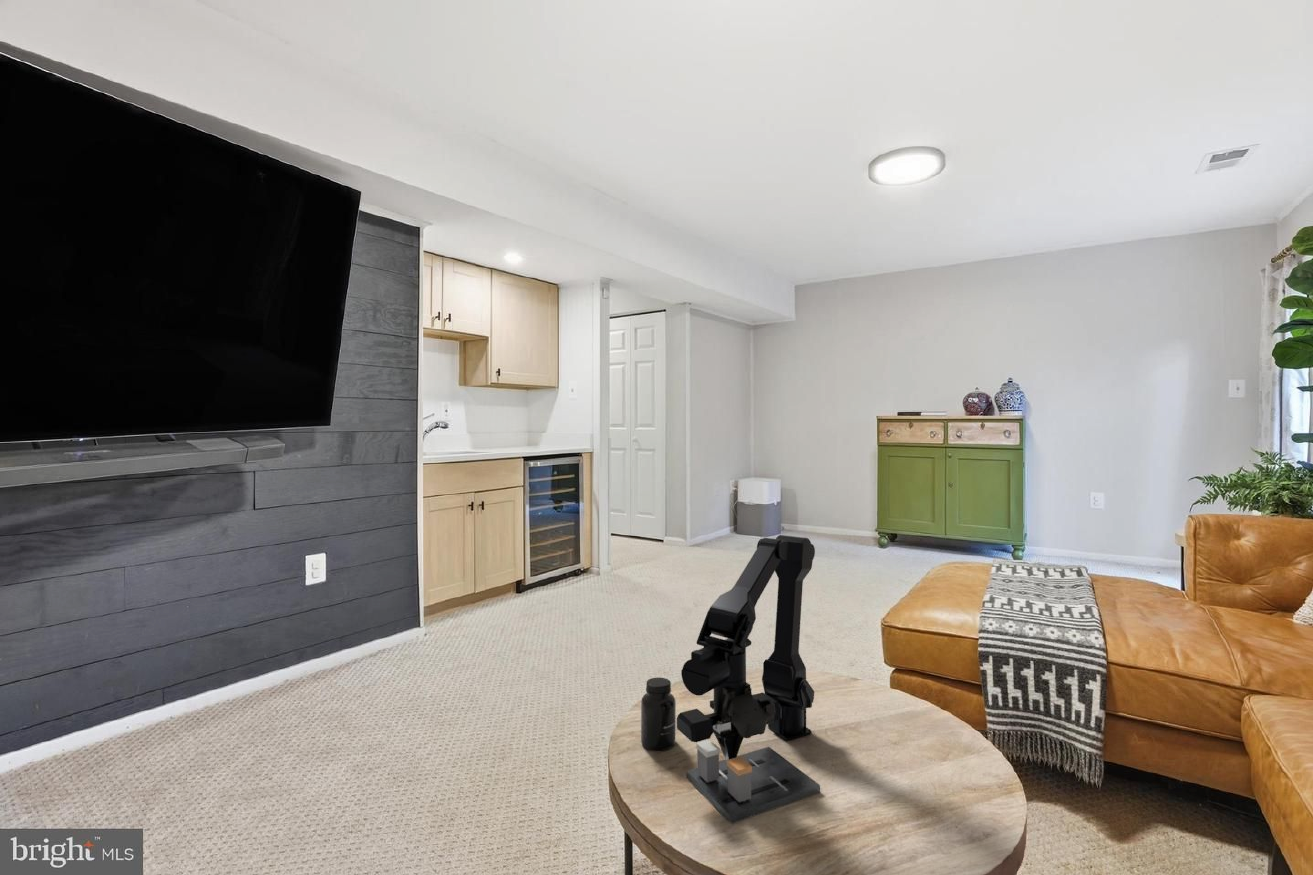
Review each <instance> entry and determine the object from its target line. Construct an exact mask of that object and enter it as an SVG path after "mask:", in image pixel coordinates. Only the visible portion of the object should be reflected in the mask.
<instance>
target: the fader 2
mask: <svg viewBox="0 0 1313 875" xmlns="http://www.w3.org/2000/svg"><path fill="white" fill-rule="evenodd" d="M738 756H739V755H738ZM727 766H728V792H729V793H730V794H731V795H732V796H733V797H734V798H735V799H736V800H737V801H738V802H742V801H745V800H747V799H750V798H751V772H752V766H751V765H750V764H749V763H747V762H746V761H745V760H744V759H743V758H741V757H740V756H739V757H736V758H733V759H729V760H727Z"/></svg>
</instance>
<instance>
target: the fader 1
mask: <svg viewBox="0 0 1313 875" xmlns="http://www.w3.org/2000/svg"><path fill="white" fill-rule="evenodd" d="M696 749H697V750H696V751H697V753H696V754H697V757H696V758H697V759H696V760H697V761H696V762H697V767H696V768H697V773H698V774H699V775H700V776H701V777H702V778H703V779H704V780H705V781H706V782H710V781H714V780H717V779H719V761H720V751H721V750H720V749H721V748H719V746H718V745H716V744H715V743H714V742H713V741H712V740H710V739H706V740H702V741H699V742H696Z"/></svg>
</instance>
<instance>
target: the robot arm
mask: <svg viewBox="0 0 1313 875" xmlns="http://www.w3.org/2000/svg"><path fill="white" fill-rule="evenodd" d="M815 555H816V549H815V546H814V544H812V542H811V540H810V538H808V537H802V536H793V535H787V534H785V535H784V534H779V535H778V536H777V537H776V538H772V537H770V538H769V537H762V538H760V539H759V540H758V542H757V545H756V549H755V551H754V553H753V555H752V556H751V558H750V559H749V561H748V562H747V564H746V566H745V568H744V569H743V570H742V572H741V574H740V576H739V577H738V578H737V580H736V582H735V584H734V585H733V587H732V588H731V589H730V590H728V591H726V592H725V593H724V592H723V593H722V594H721V595H719V596H718V597H717V598H716V599H715V600H714V601H713V603H712V605H710V607H709V608H708V610H707V612H706V616H705V618H704V621H703V624H702V626H701V628H700V632H699V633H698V637H697V639H696V644H697V646H702V648H699V649H695V650H693V651H691V652H690V654H691V655H690V656H691V657H690V659H689V660H686V662H685V663H684V664H683V667H682V669H681V673H680V674H681V679H682V680H681V681H682V683H683V684H684V687H685V688H686V689H687V690H688V691H689V693H691V694H692V695H694V696H703V695H705V694H707V693H708V692H710V691H712V690H713V700H709V707H710V709H712V710H713V712H711V713H708V714H704V713H703V711H701V710H700V709H698V708H694V709H691V710H690V709H689V710H686V711H681V712H680V713H679V714H678V715H677V716H676V729H677V730H678V731H679V732H680V733H682V734H683V736H685V738H687V739H688V740H689V741H690V742H692V743H699V742H703V741H706V740H710V738H711V737H712V735H713V734H714V736H715V738H716V740H717V742H718V745H719V747H720V749H721V750H720V751H721V752H722V754H723V756H724V760H725V759H726V762H727V760H729V759H733V758H736V757H737V756H738V754H739V750H740V748H741V745H742V743H743V740H744V739H750V738H751V737H753V736H757V735H760V736H761V735H763V734H764V733H765V731H766V728H768V729H770V730H771V731H773V733H776V734H777V735H779V736H780V738H782V739H783V740H785V741H791V740H794V739H798V738H802V737H804V736H808V735H811V734H812V732H813V731H812V730H811V729H810V728H808V727H807V709H812V707H813V703H814V699H815V690H814V689H813V687H812V686H811V684H810V683H809V682H808V680H807V668H806V665H805V663H804V661H803V659H802V657H801V655H800V636H801V635H800V634H801V633H800V632H801V621H802V620H801V619H802V617H801V616H802V604H803V603H802V602H803V587H804V586H803V585H804V580H805V578H806V577H808V574H809V573H810V571H811V570H812V568H813V560H814V558H815ZM774 573H775V574H776V576H777V578H778V580H777V585H778V586H777V600H776V614H775V616H776V618H775V630H774V647H773V652H772V653H771V654H770V656H769V657H768V658H767V659H764V661H763V663H762V664H763V665H762V667H763V670H762V676H761V683H762V686H763V691H761V692H760V693H759V692H758V693H755V694H752V688H751V684H750V683H749V682H747V648H748V647H750V646H751V645H752V641H751V640H750V639H749V636H750V634H751V633H752V631H753V629H754V628H753V627H754V625H755V622H756V619H757V616H756V605H757V604H758V601H759V600H760V598H761V595H762V594H763V593H764V590H765V588H766V587H767V585H768V583H769V582H770V580H771V578H772V576H773V575H774ZM711 635H715V636H718V637H714V636H711ZM719 637H723V638H725V639H723V638H719Z"/></svg>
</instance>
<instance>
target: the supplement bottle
mask: <svg viewBox="0 0 1313 875" xmlns="http://www.w3.org/2000/svg"><path fill="white" fill-rule="evenodd" d="M671 684H672V683H671V680H669V679H668V678H665V677H652V678H649V679H648V680H646V684H645V685H646V688H645V694H644V695H643V696H642V697H641V701H640V702H641V704H640V709H641V710H640V741H641V744H642V745H643V747H644V748H645V749H648V750H651V751H666V750H668V749H671V748H672V747H674V745H675V743H676V729H677V716H676V713H677V712H676V708H677V705H676V704H677V703H676V698H675V696H674V695H673V694H672V693H671V692H672V687H671V686H672V685H671Z"/></svg>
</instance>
